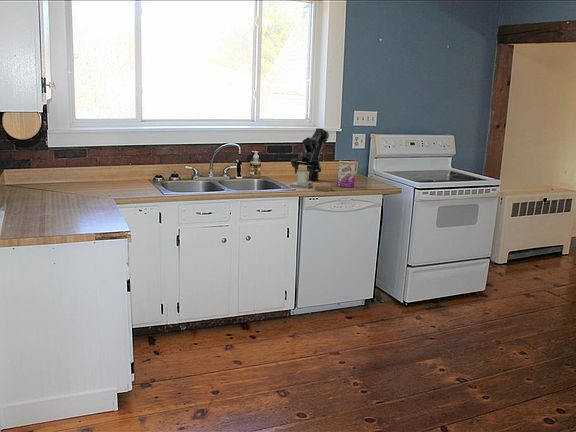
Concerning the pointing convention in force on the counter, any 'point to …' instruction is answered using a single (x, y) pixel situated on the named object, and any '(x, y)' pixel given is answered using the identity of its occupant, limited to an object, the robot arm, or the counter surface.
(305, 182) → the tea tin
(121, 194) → the counter surface
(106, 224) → the counter surface
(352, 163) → the candy bar box
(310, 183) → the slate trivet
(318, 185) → the tan flat block
